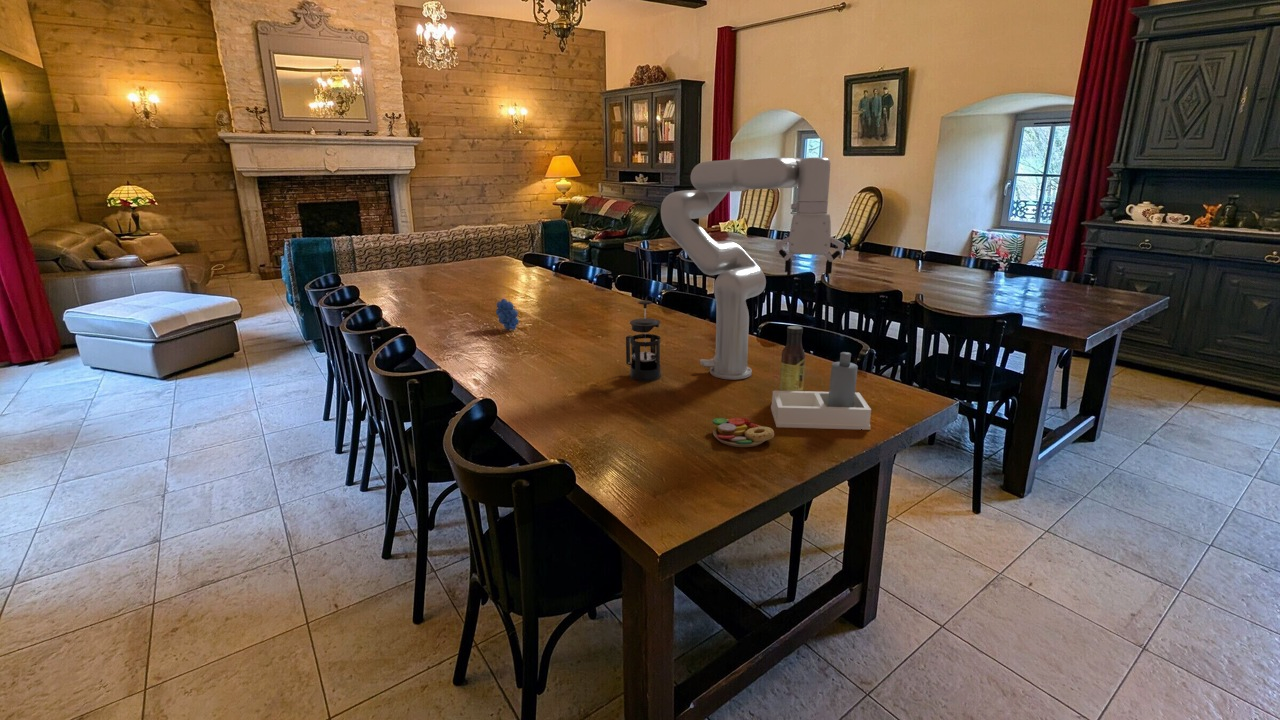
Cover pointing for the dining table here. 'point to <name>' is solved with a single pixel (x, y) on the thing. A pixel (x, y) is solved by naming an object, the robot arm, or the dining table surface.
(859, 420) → the condiment caddy
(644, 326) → the french press
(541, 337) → the dining table surface
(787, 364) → the sauce bottle
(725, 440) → the toy food set
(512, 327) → the grapes
